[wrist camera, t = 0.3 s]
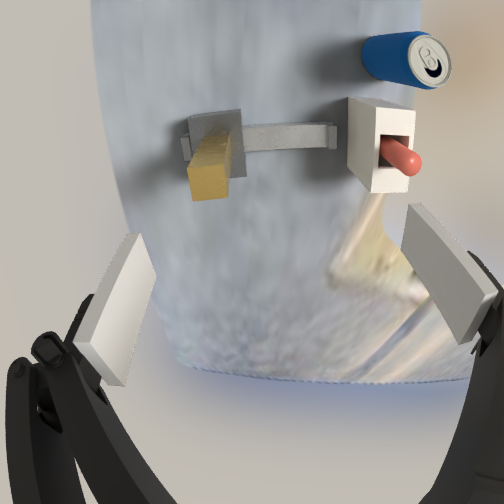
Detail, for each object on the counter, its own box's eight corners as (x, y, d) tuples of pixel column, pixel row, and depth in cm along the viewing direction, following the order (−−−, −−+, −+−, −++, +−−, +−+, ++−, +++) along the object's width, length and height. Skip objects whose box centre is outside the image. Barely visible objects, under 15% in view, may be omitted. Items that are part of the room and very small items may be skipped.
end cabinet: (348, 96, 33) (376, 107, 25) (381, 99, 33) (415, 110, 25) (346, 166, 39) (370, 193, 31) (378, 165, 38) (407, 192, 31)
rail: (184, 133, 35) (180, 138, 33) (330, 121, 35) (336, 126, 32) (188, 154, 37) (184, 161, 35) (330, 142, 37) (336, 149, 34)
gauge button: (370, 131, 31) (401, 151, 24) (389, 132, 31) (422, 152, 24) (369, 152, 32) (399, 176, 26) (387, 152, 32) (419, 176, 26)
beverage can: (377, 88, 32) (426, 102, 22) (349, 49, 29) (392, 46, 19) (409, 66, 29) (463, 75, 20) (384, 28, 26) (434, 21, 17)
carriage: (192, 113, 34) (163, 142, 21) (240, 107, 33) (239, 132, 21) (201, 170, 38) (182, 228, 26) (246, 165, 38) (248, 221, 26)
